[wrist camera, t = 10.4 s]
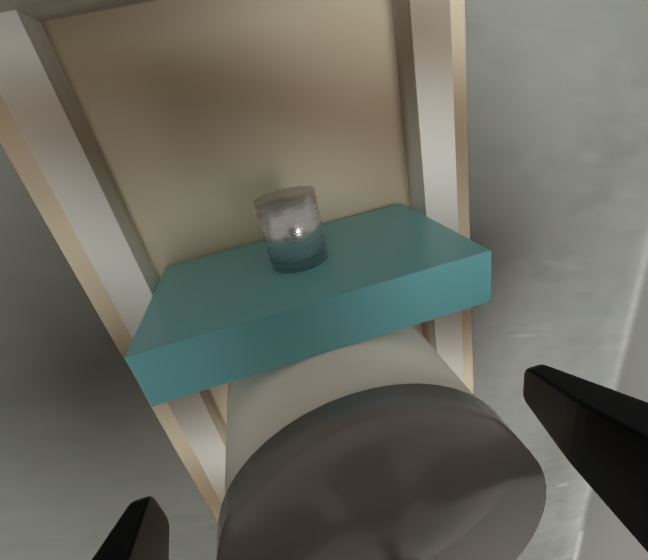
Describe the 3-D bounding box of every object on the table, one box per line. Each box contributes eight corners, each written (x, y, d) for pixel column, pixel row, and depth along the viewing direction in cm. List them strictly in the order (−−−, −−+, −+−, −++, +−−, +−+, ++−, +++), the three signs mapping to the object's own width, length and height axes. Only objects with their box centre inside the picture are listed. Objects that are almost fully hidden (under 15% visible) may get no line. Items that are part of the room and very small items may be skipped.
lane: (469, 468, 19) (563, 609, 13) (240, 551, 17) (242, 745, 12) (450, -112, 9) (778, -459, 4) (-80, -23, 8) (-852, -362, 2)
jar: (406, 381, 15) (535, 581, 8) (255, 431, 14) (272, 690, 8) (388, 238, 12) (561, 376, 6) (197, 291, 11) (151, 517, 5)
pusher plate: (405, 239, 12) (491, 301, 8) (181, 302, 11) (151, 406, 7) (395, 149, 10) (492, 169, 7) (142, 212, 10) (79, 278, 6)
